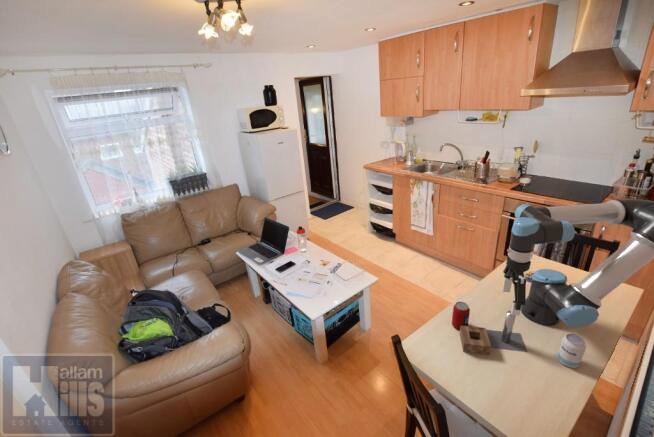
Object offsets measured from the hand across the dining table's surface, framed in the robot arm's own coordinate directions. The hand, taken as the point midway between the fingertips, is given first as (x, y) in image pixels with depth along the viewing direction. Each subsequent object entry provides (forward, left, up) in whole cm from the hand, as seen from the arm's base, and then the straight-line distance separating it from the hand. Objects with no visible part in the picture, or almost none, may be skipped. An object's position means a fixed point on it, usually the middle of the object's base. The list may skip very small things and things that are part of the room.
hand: (510, 302), depth 119 cm
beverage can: (+16, -5, -21) cm, 27 cm away
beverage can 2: (-21, +7, -21) cm, 30 cm away
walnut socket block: (+12, +4, -21) cm, 24 cm away
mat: (-1, 0, -21) cm, 21 cm away
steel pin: (-1, 0, -20) cm, 20 cm away
